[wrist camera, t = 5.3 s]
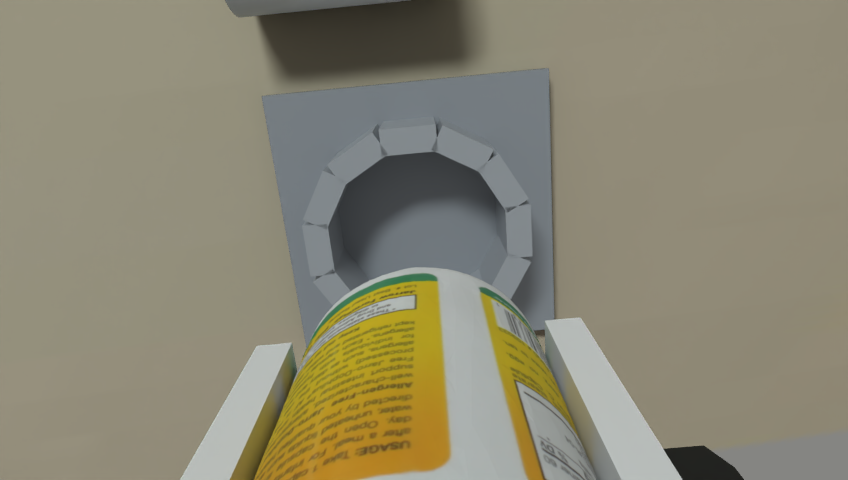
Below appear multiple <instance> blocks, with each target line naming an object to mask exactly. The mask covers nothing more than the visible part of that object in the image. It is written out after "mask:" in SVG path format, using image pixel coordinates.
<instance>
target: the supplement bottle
mask: <svg viewBox="0 0 848 480" xmlns="http://www.w3.org/2000/svg"><path fill="white" fill-rule="evenodd" d="M254 480H597V478H596V476H595V473H594V471H593V468H592V466H591V464H590V462H589V460H588V457H587V455H586V453H585V450H584V448H583V446H582V443H581V441H580V439H579V436H578V434H577V431H576V429H575V426H574V423H573V421H572V418H571V416H570V414H569V412H568V409H567V407H566V404H565V401H564V399H563V397H562V395H561V393H560V390H559V388H558V385H557V382H556V380H555V378H554V375H553V373H552V371H551V369H550V366H549V364H548V361H547V359H546V357H545V354H544V352H543V350H542V348H541V345H540V343H539V341H538V339H537V337H536V335H535V332H534V331H533V329H532V327H531V325H530V323H529V322H528V321H527V319H526V318H525V316H524V315H523V313H522V312H521V311H520V310H519V309H518V307H517V306H516V305H515V304H514V303H513V302H512V301H511V300H510V299H509V298H508V297H507V296H505V295H504V294H503V293H502V292H501V291H499V290H498V289H496V288H495V287H493V286H491V285H490V284H488V283H486V282H484V281H482V280H480V279H478V278H475V277H473V276H471V275H468V274H465V273H461V272H458V271H454V270H449V269H442V268H427V267H414V268H407V269H403V270H399V271H395V272H392V273H389V274H385V275H382V276H380V277H377V278H375V279H372V280H370V281H368V282H366V283H364V284H362V285H360V286H358V287H357V288H355V289H353V290H352V291H350V292H349V293H347V294H346V295H345V296H343V297H342V298H341V299H340V300H339V301H338V302H336V303H335V304H334V305H333V307H332V308H331V309H330V310H329V311H328V312H327V313H326V314H325V316H324V317H323V318H322V320H321V321H320V323H319V325H318V326H317V328H316V330H315V332H314V333H313V335H312V337H311V340H310V342H309V345H308V347H307V349H306V351H305V353H304V355H303V359H302V362H301V364H300V367H299V369H298V371H297V374H296V376H295V379H294V381H293V384H292V386H291V389H290V391H289V394H288V397H287V399H286V401H285V404H284V407H283V409H282V412H281V414H280V417H279V419H278V422H277V424H276V427H275V429H274V431H273V434H272V436H271V438H270V441H269V443H268V445H267V448H266V450H265V453H264V455H263V458H262V460H261V463H260V465H259V468H258V470H257V473H256V475H255V478H254Z"/></svg>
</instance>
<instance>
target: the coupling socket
mask: <svg viewBox="0 0 848 480" xmlns="http://www.w3.org/2000/svg"><path fill="white" fill-rule="evenodd" d="M262 101H263V106H264V112H265V118H266V123H267V129H268V134H269V140H270V146H271V151H272V157H273V162H274V168H275V174H276V179H277V185H278V190H279V196H280V202H281V207H282V213H283V218H284V224H285V230H286V235H287V241H288V246H289V252H290V258H291V263H292V269H293V274H294V280H295V286H296V291H297V297H298V302H299V308H300V314H301V319H302V325H303V330H304V336H305V342H306V347H308V345H309V342H310V340H311V337H312V335H313V333H314V332H315V330H316V328H317V326H318V325H319V323H320V321H321V320H322V318H323V317H324V316H325V314H326V313H327V312H328V311H329V310H330V309H331V308H332V307H333V305H334V304H335V303H336V302H338V301H339V300H340V299H341V298H342V297H343V296H345V295H346V294H347V293H349V292H350V291H352V290H353V289H355V288H357V287H358V286H360V285H362V284H364V283H366V282H368V281H370V280H372V279H375V278H377V277H380V276H382V275H385V274H389V273H392V272H395V271H399V270H403V269H407V268H414V267H427V268H442V269H449V270H454V271H458V272H461V273H465V274H468V275H471V276H473V277H475V278H478V279H480V280H482V281H484V282H486V283H488V284H490V285H491V286H493V287H495V288H496V289H498V290H499V291H501V292H502V293H503V294H504V295H505V296H507V297H508V298H509V299H510V300H511V301H512V302H513V303H514V304H515V305H516V306H517V307H518V309H519V310H520V311H521V312H522V313H523V315H524V316H525V318H526V319H527V321H528V322H529V323H530V325H531V327H532V329H533V330H545V321H546V320H554V283H553V237H552V192H551V146H550V100H549V69H548V68H543V69H533V70H522V71H512V72H502V73H492V74H481V75H471V76H461V77H450V78H440V79H430V80H420V81H409V82H399V83H389V84H378V85H368V86H358V87H348V88H337V89H327V90H317V91H307V92H296V93H286V94H276V95H266V96H262Z"/></svg>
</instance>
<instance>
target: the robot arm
mask: <svg viewBox="0 0 848 480" xmlns="http://www.w3.org/2000/svg"><path fill="white" fill-rule="evenodd" d="M545 353H546V359H547V361H548V364H549V366H550V369H551V371H552V373H553V375H554V378H555V380H556V382H557V385H558V388H559V390H560V393H561V395H562V397H563V399H564V401H565V404H566V407H567V409H568V412H569V414H570V416H571V418H572V421H573V423H574V426H575V429H576V431H577V434H578V436H579V439H580V441H581V443H582V446H583V448H584V450H585V453H586V455H587V457H588V460H589V462H590V464H591V466H592V468H593V471H594V473H595V476H596V478H597V480H744V479H743V478H742V476H741V475H740V474H739V473H738V471H737V470H736V469H735V467H733V466H732V465H730V464H729V463H727V462H726V461H725V460H723V459H722V458H721V457H719V456H718V455H716V454H715V453H713V452H712V451H711V450H709V449H708V448H706V447H705V446H693V447H680V448H668V449H663V448H662V446H661V445H660V443H659V442H658V440H657V438H656V437H655V435H654V434H653V432H652V430H651V429H650V427H649V426H648V424H647V422H646V421H645V419H644V418H643V416H642V415H641V413H640V411H639V410H638V408H637V407H636V405H635V403H634V402H633V400H632V399H631V397H630V395H629V394H628V392H627V391H626V389H625V388H624V386H623V384H622V383H621V381H620V380H619V378H618V376H617V375H616V373H615V372H614V370H613V368H612V367H611V365H610V364H609V362H608V361H607V359H606V357H605V356H604V354H603V353H602V351H601V349H600V348H599V346H598V345H597V343H596V341H595V340H594V338H593V337H592V335H591V334H590V332H589V330H588V329H587V327H586V326H585V324H584V322H583V321H582V319H581V318H569V319H557V320H546V321H545ZM296 374H297V368H296V362H295V357H294V352H293V346H292V343H285V344H274V345H262V346H257V347H256V348H255V350H254V352H253V353H252V355H251V357H250V359H249V360H248V362H247V364H246V366H245V367H244V369H243V371H242V373H241V374H240V376H239V378H238V380H237V381H236V383H235V385H234V387H233V388H232V390H231V392H230V394H229V395H228V397H227V399H226V401H225V402H224V404H223V406H222V408H221V409H220V411H219V413H218V415H217V416H216V418H215V420H214V422H213V423H212V425H211V427H210V428H209V430H208V432H207V434H206V435H205V437H204V439H203V441H202V442H201V444H200V446H199V448H198V449H197V451H196V453H195V455H194V456H193V458H192V460H191V462H190V463H189V465H188V467H187V469H186V470H185V472H184V474H183V476H182V477H181V479H180V480H254V478H255V475H256V473H257V470H258V468H259V465H260V463H261V460H262V458H263V455H264V453H265V450H266V448H267V445H268V443H269V441H270V438H271V436H272V434H273V431H274V429H275V427H276V424H277V422H278V419H279V417H280V414H281V412H282V409H283V407H284V404H285V401H286V399H287V397H288V394H289V391H290V389H291V386H292V384H293V381H294V379H295V376H296Z"/></svg>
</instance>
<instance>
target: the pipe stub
mask: <svg viewBox="0 0 848 480" xmlns="http://www.w3.org/2000/svg"><path fill="white" fill-rule="evenodd" d="M225 1H226V3H227V5H228V7H229V8H230V10H231V11H232V12H233V13H234V15H236V16H237V17H249V16H259V15H269V14H279V13H289V12H299V11H309V10H319V9H329V8H339V7H349V6H359V5H369V4H379V3H389V2H399V1H409V0H225Z"/></svg>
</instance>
